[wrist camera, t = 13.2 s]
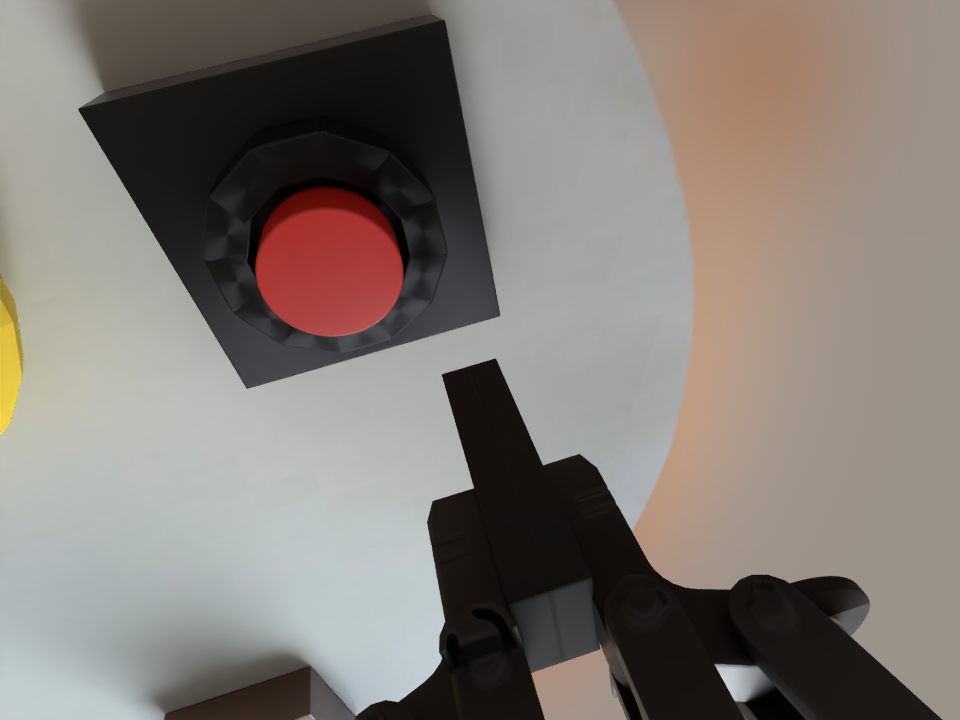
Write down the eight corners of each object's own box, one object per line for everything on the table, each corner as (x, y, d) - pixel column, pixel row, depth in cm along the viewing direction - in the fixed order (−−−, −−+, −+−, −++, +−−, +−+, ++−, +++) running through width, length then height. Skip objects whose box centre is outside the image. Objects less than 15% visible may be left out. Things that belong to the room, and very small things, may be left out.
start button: (411, 288, 18) (418, 316, 16) (292, 322, 18) (290, 352, 16) (375, 169, 15) (380, 190, 14) (236, 206, 15) (227, 230, 14)
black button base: (487, 289, 23) (513, 341, 20) (252, 356, 22) (241, 421, 19) (432, 13, 17) (458, 25, 13) (103, 93, 16) (49, 125, 13)
